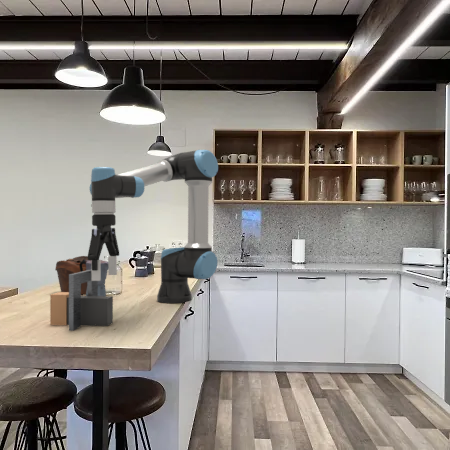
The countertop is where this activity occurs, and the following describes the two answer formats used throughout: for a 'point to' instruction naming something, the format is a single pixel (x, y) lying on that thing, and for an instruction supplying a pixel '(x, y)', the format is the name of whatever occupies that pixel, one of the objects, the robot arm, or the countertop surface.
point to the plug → (82, 310)
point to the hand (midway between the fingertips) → (104, 277)
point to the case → (70, 272)
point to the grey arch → (79, 295)
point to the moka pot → (103, 275)
